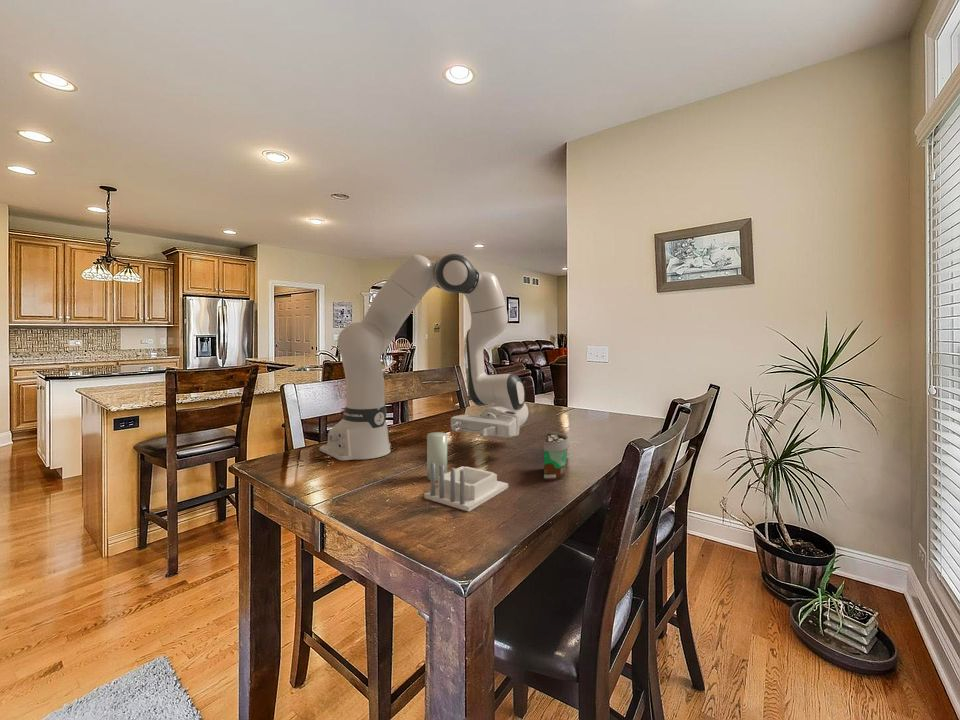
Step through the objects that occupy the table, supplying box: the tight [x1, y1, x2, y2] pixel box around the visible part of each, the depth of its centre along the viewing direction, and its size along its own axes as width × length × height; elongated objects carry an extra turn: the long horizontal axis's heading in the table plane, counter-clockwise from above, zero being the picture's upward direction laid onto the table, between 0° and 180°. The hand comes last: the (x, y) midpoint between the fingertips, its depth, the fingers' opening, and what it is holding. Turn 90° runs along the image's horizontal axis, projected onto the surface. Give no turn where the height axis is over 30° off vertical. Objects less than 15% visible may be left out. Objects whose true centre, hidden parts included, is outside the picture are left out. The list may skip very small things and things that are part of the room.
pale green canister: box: [426, 431, 448, 482], centre depth 104 cm, size 5×5×11 cm
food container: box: [543, 430, 571, 482], centre depth 106 cm, size 12×6×10 cm, turn 168°
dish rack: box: [423, 463, 509, 512], centre depth 94 cm, size 12×16×8 cm
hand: (467, 430), depth 114 cm, fingers open, 8 cm apart
